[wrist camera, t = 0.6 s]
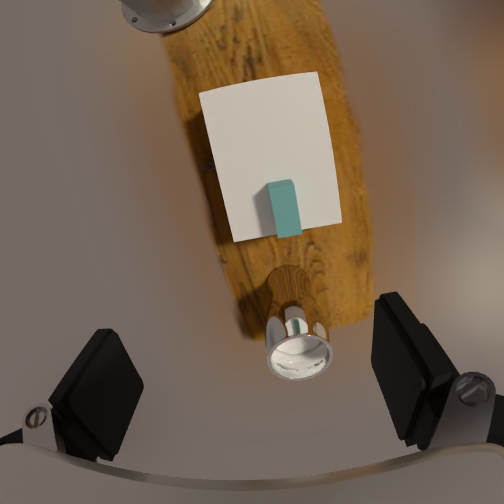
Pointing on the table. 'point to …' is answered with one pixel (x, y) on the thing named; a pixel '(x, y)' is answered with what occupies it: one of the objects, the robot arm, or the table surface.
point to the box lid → (273, 155)
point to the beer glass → (295, 327)
